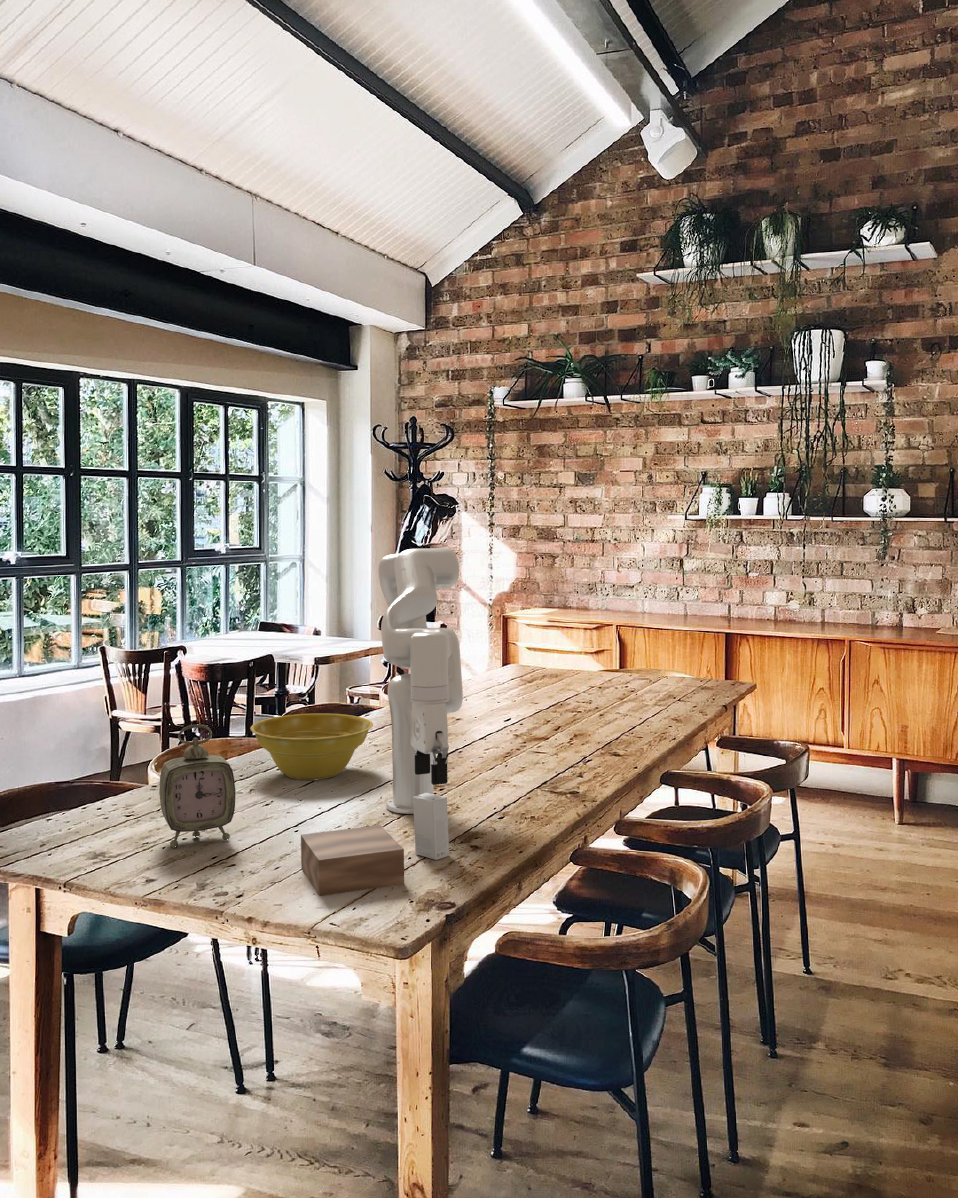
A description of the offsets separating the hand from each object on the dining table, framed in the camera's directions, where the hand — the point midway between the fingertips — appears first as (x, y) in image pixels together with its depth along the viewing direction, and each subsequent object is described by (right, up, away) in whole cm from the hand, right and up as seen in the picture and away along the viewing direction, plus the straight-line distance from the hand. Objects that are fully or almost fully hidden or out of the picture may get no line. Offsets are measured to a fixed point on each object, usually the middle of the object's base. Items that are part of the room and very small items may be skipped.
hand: (430, 778), depth 204 cm
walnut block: (-15, -17, -10) cm, 25 cm away
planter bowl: (-35, -11, +68) cm, 77 cm away
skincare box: (0, -16, +2) cm, 16 cm away
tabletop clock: (-50, -16, +12) cm, 54 cm away
